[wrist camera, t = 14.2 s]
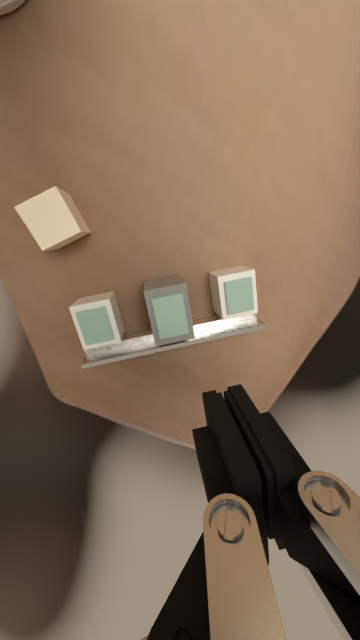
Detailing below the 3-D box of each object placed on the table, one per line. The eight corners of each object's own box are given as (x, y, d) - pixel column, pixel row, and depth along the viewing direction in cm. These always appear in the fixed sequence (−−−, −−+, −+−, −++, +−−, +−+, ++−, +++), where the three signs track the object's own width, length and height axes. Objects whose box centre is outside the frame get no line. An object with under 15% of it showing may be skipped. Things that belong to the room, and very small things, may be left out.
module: (144, 280, 35) (143, 292, 27) (177, 273, 35) (186, 283, 27) (153, 324, 37) (155, 347, 29) (185, 318, 38) (195, 339, 30)
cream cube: (34, 211, 31) (14, 206, 26) (69, 194, 31) (55, 185, 26) (57, 249, 32) (42, 250, 28) (90, 232, 32) (81, 231, 28)
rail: (87, 343, 37) (78, 358, 32) (250, 308, 38) (265, 318, 34) (91, 354, 37) (83, 371, 33) (251, 320, 39) (266, 331, 34)
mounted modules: (79, 297, 35) (67, 308, 29) (240, 265, 36) (256, 270, 31) (91, 335, 37) (82, 352, 31) (244, 303, 38) (259, 314, 33)
